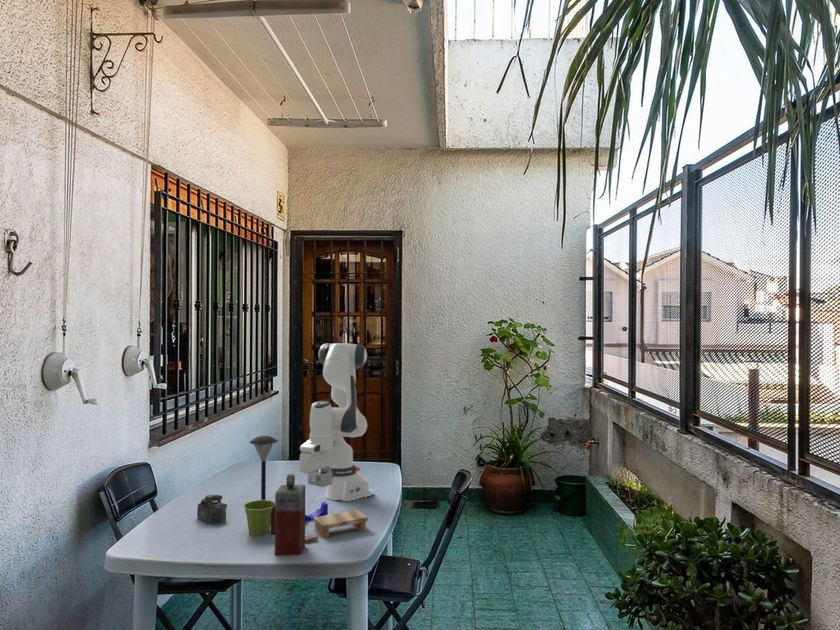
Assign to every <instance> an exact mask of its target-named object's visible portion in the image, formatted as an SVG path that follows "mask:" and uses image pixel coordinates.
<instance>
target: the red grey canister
mask: <svg viewBox="0 0 840 630" xmlns="http://www.w3.org/2000/svg"><path fill="white" fill-rule="evenodd" d="M295 477H296V476H295V474H290V473H289V474H287V475H286V482H285V483H286V484H281V485H279V487H278V489H277V490H276V492H275V495H274V496H275V497H274V502H275V504H274V506H273V508H272V511H271V524H270V536H274V556H302V554H303V551H304V550H305V547H306V543H305V536H306V521H305V515H306V486H305V484H295Z"/></svg>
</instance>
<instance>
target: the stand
mask: <svg viewBox="0 0 840 630" xmlns="http://www.w3.org/2000/svg"><path fill="white" fill-rule="evenodd" d="M312 521H313V523H314V532H316V533H317V534H318V535H319V536H321V537H322V538H324V539H325V538H330V529H334V528H335V529H336V528H339V527H345V526H350V525H351V526H352V525H353V527H354V528H355V527H356V528H355V529H356V530H358V529H359V532H364V530H365V531H367V526H366V524H367V522H368V516H366V515H365V514H364V513H362V512H361V511H359V510H358V509H354V510H353V509H352V510H349V511H348V510H347V511H342V512H337V513H331V514H328V515H324V516H319V517H313V520H312Z"/></svg>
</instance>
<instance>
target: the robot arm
mask: <svg viewBox="0 0 840 630" xmlns="http://www.w3.org/2000/svg"><path fill="white" fill-rule="evenodd" d="M317 355H318V360H319V363H320V364H321V365H322V366H323V369H322V377H323V378H324V381H325V382H326V383H327V384H329V385H330V386H331V392H330V397H331V400H332V401H333V403H334V404H336V405H338V407H332V404H331V403H330V402H329V401H327V400H319V401H315V402H313V403H312V404H311V408H310V413H309V428H310V429H309V430H310V432H309V439H308V440H306V441H305V442H304V443H302V444H301V445H300V447H299V450H300V452H301V453H300V454H299V461H298V462H299V463H298V464H299V465H298V466H299V471H300V472H301V473H303V474H308V473H310V474H311V476H312V481H313V482H317V481H318V477H317V476H316V474H315V473H316V470H319V469H324V468H325V469H327V470H328V471H332V484H331V485H328V486H326V490H325V491H326V492H325V494H324V495H325V496H324V498H325V499H326V500H330V501H335V500H343V501H342V502H345V501H349V502H351V501H350V500H353V501H355V500H354V499H357V500H359V499H358V498H361V499H363V498H362V497H365V498H367V497H366V496H369V497H372V496H371V495H373V494H374V493H375V492H374V491H373V490H372V489H371V488H369V483H368V481H367V479H365V478H364V477H363V476H362V475H361V474H359V473H358V472H360V470H361V467H359V466H356V465H354V464H353V463H354V462H353V461H354V460H353V457H354V455H353V454H354V450H353V448H352V446H351V445H350V444H349V443H347V442H346V441H345V439H344V437H345V438H346V437H347V438H357V437H362V436H363V435H364V434H365V433H366V431H367V428H368V422H367V419H366V417H365V415H363V414H362V413H361V411H360V410H359V407H358V403H357V401H358V400H357V397H358V396H357V385H356V384H357V382H356V380H357V376H356V375H357V373H356V370H359V368H362V367H363V366H364V365H365V363H366V361H367V360H368V352H367V349H366V346H364V345H363V344H359V343H357V344H355V343H348V342H342V343H341V342H338V343H334V342H333V343H330V342H329V343H328V342H327V343H323V344H322V345H321V346H320V348H319V349H318V354H317ZM373 496H374V495H373Z"/></svg>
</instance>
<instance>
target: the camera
mask: <svg viewBox="0 0 840 630" xmlns="http://www.w3.org/2000/svg"><path fill="white" fill-rule="evenodd" d="M204 497H205V498H203V499H201V501H200V503H198V504H197V510H196V511H197V513H196V514H197V515H196V517H197V518H198V519H199V520H202V521H204V522H205V523H209V524H219V523H224V522H225V521H227V508H228V505H227V503H224V502H222V500H223V496H222V495H221V494H207V495H205V496H204Z"/></svg>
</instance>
